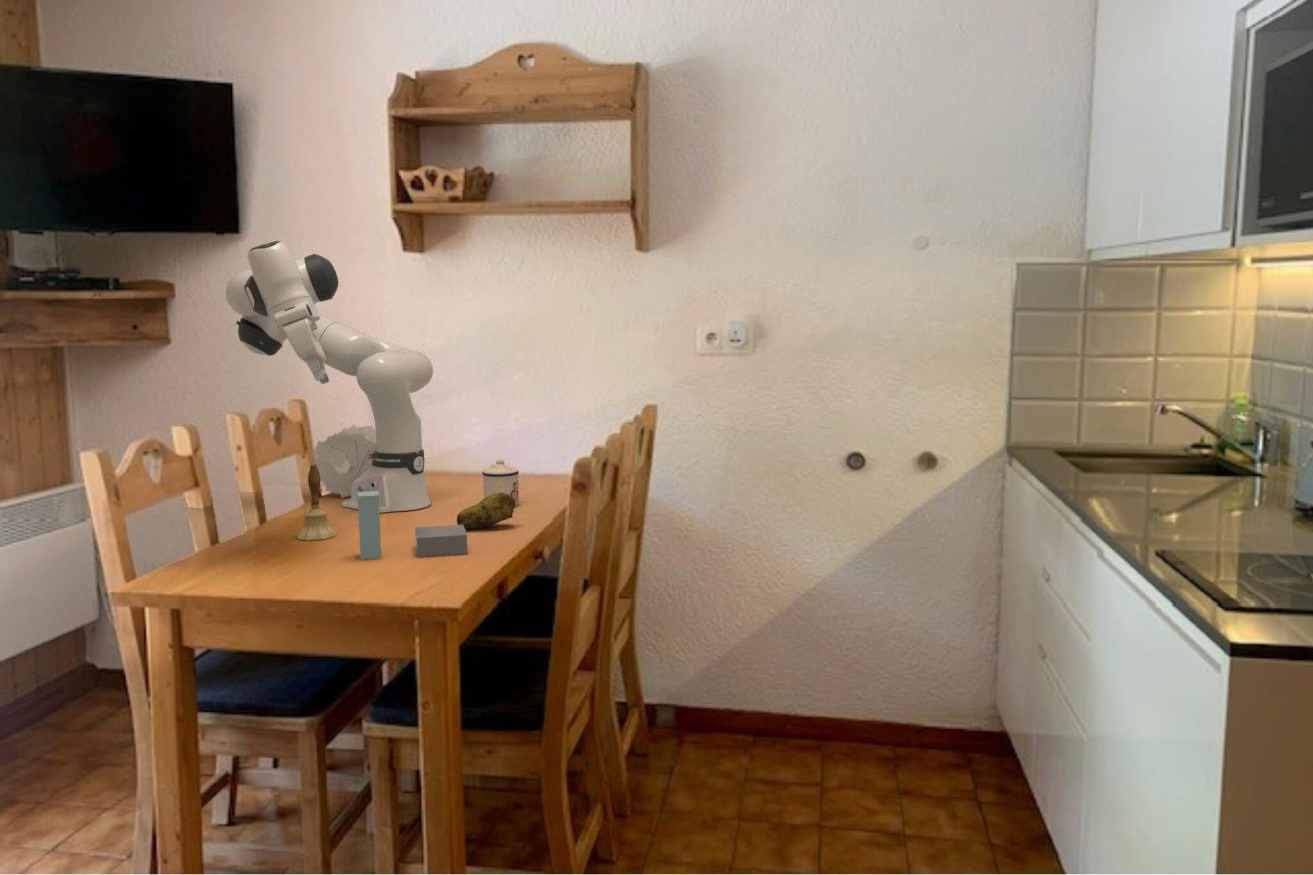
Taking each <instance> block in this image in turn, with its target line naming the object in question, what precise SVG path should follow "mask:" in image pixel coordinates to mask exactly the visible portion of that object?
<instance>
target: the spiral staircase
mask: <svg viewBox="0 0 1313 875" xmlns="http://www.w3.org/2000/svg"><path fill="white" fill-rule="evenodd" d="M376 451H377V446H376V429H375V428H373V426H372V425H369V426H368V425H366V426H358V427H357V426H356V425H355V424H354V423H353V424H352V425H351V427H349V428H347V427H344V428H343V429H342V430H341V431H338V432H337V433H334V434H332V435H331V436H327V437H326V440H324V441H321V440H318V442H317V444H316V446H315V448H314V450H313V453H312V456H314V457H315V458H313V459H314V463H315V465H317V468H318V471H319V474H320V483H321V484H323V485H325V486H326V487H325V491H326V492H330V493H334V494H337V495H340V497H341V499H343V498H346V497H351V489H352V484H353V482H354V481H355V480H356V479H357V478H358V477H359V476H360V475H362V474H363V473H364V472H365V471H366V470H367V469H368V468H370V467H371V466H372V465H371V464H372V460H373V458H372V459H368V458H369V457H371V455H369V454H373V453H375V452H376ZM368 455H369V456H368Z"/></svg>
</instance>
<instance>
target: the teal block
mask: <svg viewBox="0 0 1313 875" xmlns="http://www.w3.org/2000/svg"><path fill="white" fill-rule="evenodd" d="M357 511H358V527H359V528H358V530H359V533H358V534H359V545H360V546H359V551H360V555H359V556H360V561H365V560H380V559H382V541H381V540H382V539H381V518H380V516H381V515H380V514H381V513H379V491H365V492H358V509H357Z"/></svg>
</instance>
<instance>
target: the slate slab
mask: <svg viewBox="0 0 1313 875" xmlns="http://www.w3.org/2000/svg"><path fill="white" fill-rule="evenodd" d="M414 530H415V531H414V532H415V549H416V556H417V558H425V557H426V558H428V557H427V556H431V557H442V556H441V555H446V556H451V555H450V554H460V555H468V534H467V531H466V529H465V528H464V525H458V524H452V525H451V524H448V525H438V526H437V525H436V526H435V525H434V526H422V527H421V526H418V527H416V526H415V527H414Z"/></svg>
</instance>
